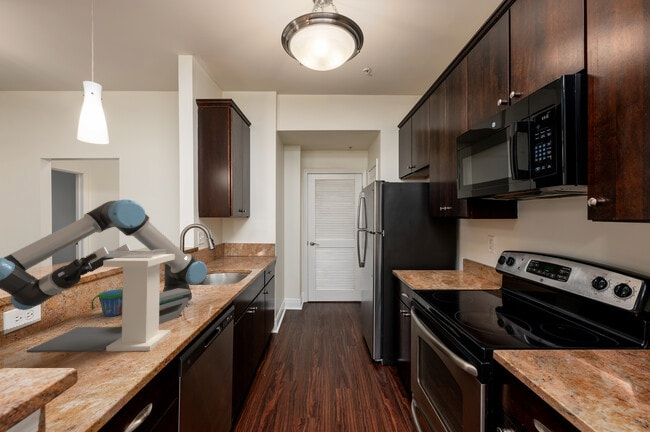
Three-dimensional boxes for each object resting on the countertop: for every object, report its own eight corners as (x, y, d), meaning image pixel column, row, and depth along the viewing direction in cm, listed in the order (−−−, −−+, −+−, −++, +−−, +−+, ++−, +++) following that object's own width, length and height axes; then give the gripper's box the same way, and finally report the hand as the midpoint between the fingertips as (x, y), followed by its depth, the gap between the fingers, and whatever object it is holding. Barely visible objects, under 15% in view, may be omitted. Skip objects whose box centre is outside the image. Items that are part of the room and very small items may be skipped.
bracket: (93, 257, 99) (93, 251, 99) (113, 254, 109) (113, 248, 109) (151, 257, 100) (151, 252, 100) (166, 254, 110) (166, 249, 110)
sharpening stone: (135, 332, 109) (136, 304, 109) (122, 329, 112) (123, 301, 112) (190, 313, 132) (190, 289, 132) (178, 311, 135) (178, 288, 135)
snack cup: (87, 320, 122) (88, 296, 122) (95, 313, 131) (96, 290, 131) (131, 315, 128) (131, 293, 128) (135, 309, 138) (136, 287, 138)
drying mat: (26, 352, 93) (26, 350, 93) (77, 328, 113) (77, 327, 113) (103, 351, 94) (103, 349, 94) (140, 328, 114) (140, 326, 114)
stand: (101, 354, 92) (103, 260, 92) (136, 332, 110) (137, 253, 110) (146, 353, 92) (147, 260, 93) (173, 331, 110) (174, 254, 111)
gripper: (92, 281, 112) (142, 253, 113) (34, 298, 88) (98, 262, 89) (82, 265, 112) (133, 237, 113) (22, 277, 88) (86, 241, 89)
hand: (117, 248), depth 101 cm, fingers open, 11 cm apart
